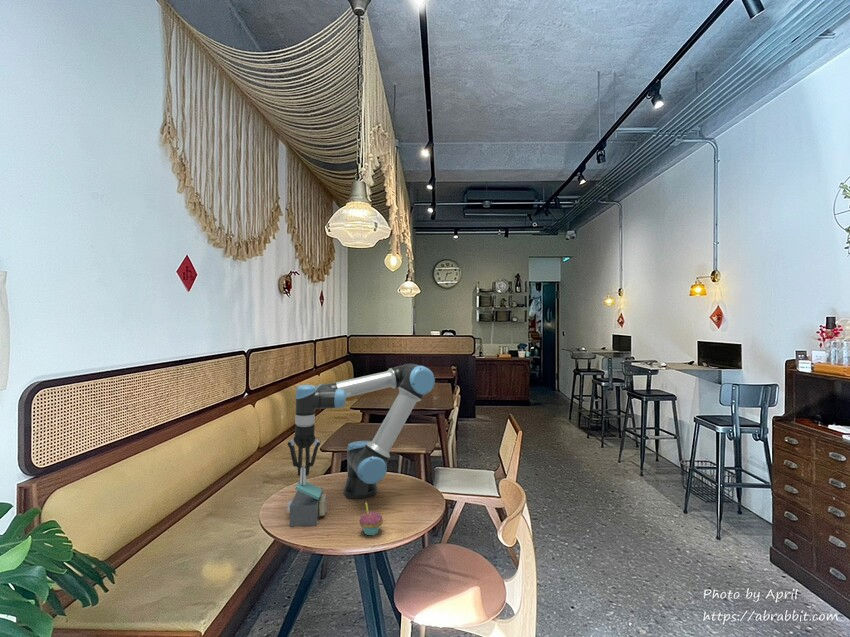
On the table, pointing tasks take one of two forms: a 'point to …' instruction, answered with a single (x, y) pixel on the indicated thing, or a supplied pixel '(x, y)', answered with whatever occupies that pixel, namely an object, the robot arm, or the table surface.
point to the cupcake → (370, 522)
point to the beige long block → (321, 505)
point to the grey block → (304, 510)
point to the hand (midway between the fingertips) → (303, 483)
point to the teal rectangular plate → (309, 490)
